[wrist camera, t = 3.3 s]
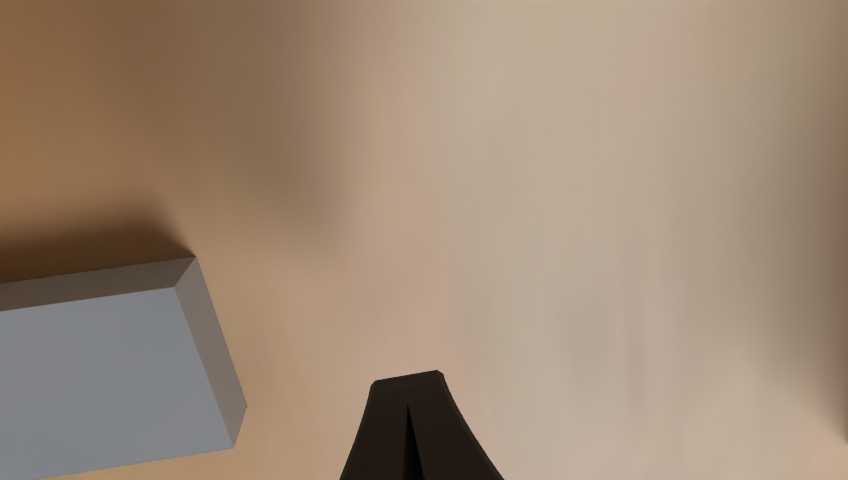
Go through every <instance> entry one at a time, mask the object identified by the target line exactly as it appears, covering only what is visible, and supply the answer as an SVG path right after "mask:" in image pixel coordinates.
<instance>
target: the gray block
mask: <svg viewBox="0 0 848 480" xmlns="http://www.w3.org/2000/svg"><path fill="white" fill-rule="evenodd" d="M246 408H247V404H246V401H245V398H244V395H243V392H242V389H241V386H240V383H239V380H238V377H237V374H236V372H235V369H234V366H233V363H232V360H231V357H230V354H229V351H228V348H227V345H226V342H225V339H224V336H223V333H222V330H221V327H220V324H219V321H218V319H217V316H216V313H215V310H214V307H213V304H212V301H211V298H210V295H209V292H208V289H207V286H206V283H205V280H204V277H203V274H202V271H201V268H200V266H199V263H198V260H197V257H196V256H195V257H188V258H181V259H174V260H166V261H159V262H152V263H145V264H137V265H130V266H123V267H116V268H108V269H101V270H94V271H87V272H79V273H72V274H65V275H58V276H50V277H43V278H36V279H29V280H21V281H14V282H7V283H0V480H37V479H43V478H50V477H56V476H62V475H69V474H75V473H81V472H88V471H94V470H100V469H106V468H113V467H119V466H125V465H132V464H138V463H144V462H151V461H157V460H163V459H170V458H176V457H182V456H188V455H195V454H201V453H207V452H214V451H220V450H226V449H233V448H234V446H235V443H236V440H237V437H238V433H239V430H240V427H241V424H242V421H243V418H244V414H245V411H246Z"/></svg>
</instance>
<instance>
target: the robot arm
mask: <svg viewBox="0 0 848 480" xmlns="http://www.w3.org/2000/svg"><path fill="white" fill-rule="evenodd" d="M339 480H504V479H503V477H502V476H501V475H500V473H499V472H498V470H497V469H496V468H495V466H494V465H493V463H492V462H491V460H490V459H489V458H488V456H487V455H486V453H485V451H484V450H483V448H482V447H481V445H480V444H479V442H478V441H477V439H476V438H475V436H474V435H473V433H472V431H471V430H470V428H469V426H468V425H467V423H466V422H465V420H464V418H463V416H462V414H461V413H460V411H459V409H458V407H457V405H456V403H455V401H454V399H453V397H452V395H451V393H450V391H449V389H448V386H447V384H446V381H445V378H444V375H443V373H441V372H440V371H438V370H434V371H428V372H422V373H416V374H410V375H405V376H399V377H393V378H387V379H382V380H376V381H375V382H374V383H373V384H372V385H371V387H370V392H369V396H368V400H367V404H366V407H365V411H364V414H363V417H362V421H361V424H360V426H359V429H358V432H357V435H356V438H355V441H354V444H353V446H352V449H351V451H350V454H349V456H348V459H347V462H346V464H345V467H344V469H343V472H342V474H341V477H340V479H339Z"/></svg>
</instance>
